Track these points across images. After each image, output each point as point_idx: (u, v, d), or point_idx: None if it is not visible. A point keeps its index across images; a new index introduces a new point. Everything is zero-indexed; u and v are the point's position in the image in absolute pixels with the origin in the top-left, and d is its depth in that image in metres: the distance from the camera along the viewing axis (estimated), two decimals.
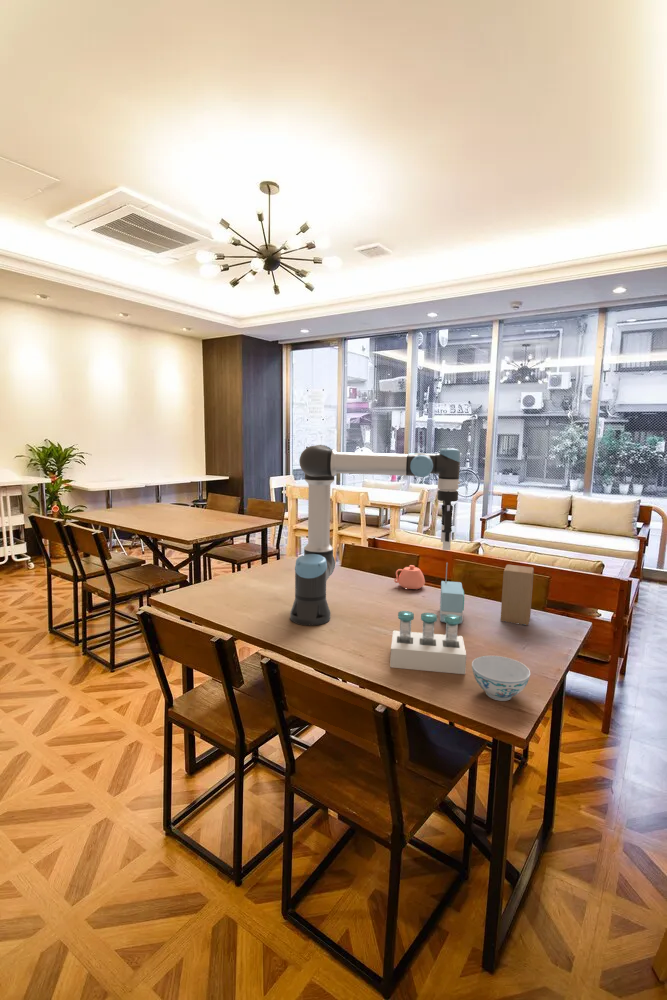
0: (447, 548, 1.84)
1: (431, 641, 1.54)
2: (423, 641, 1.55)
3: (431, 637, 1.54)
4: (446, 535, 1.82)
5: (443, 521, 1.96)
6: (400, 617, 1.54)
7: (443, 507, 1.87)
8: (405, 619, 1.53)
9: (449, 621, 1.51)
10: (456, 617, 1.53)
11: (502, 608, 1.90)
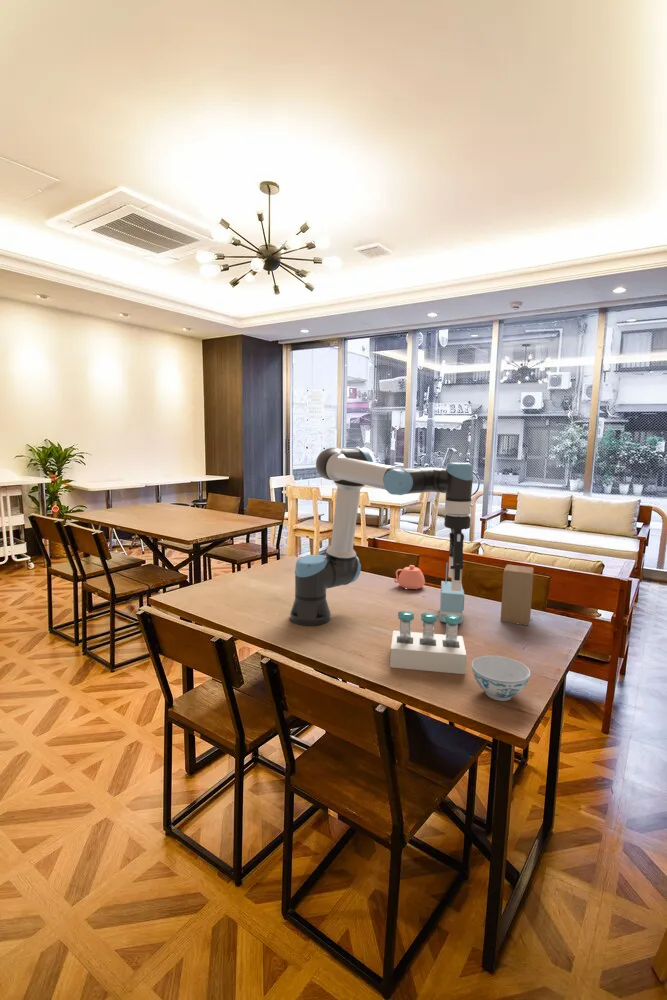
0: (457, 588, 1.45)
1: (431, 641, 1.54)
2: (423, 641, 1.55)
3: (431, 637, 1.54)
4: (456, 572, 1.44)
5: (451, 552, 1.57)
6: (400, 617, 1.54)
7: (452, 536, 1.49)
8: (405, 619, 1.53)
9: (449, 621, 1.51)
10: (456, 617, 1.53)
11: (502, 608, 1.90)
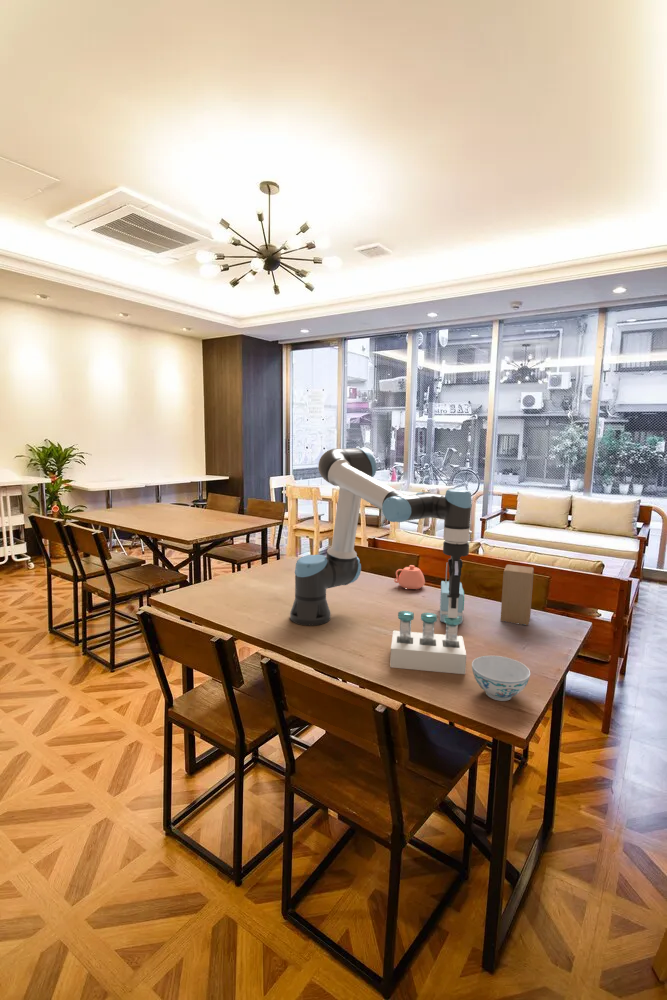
0: (454, 616, 1.52)
1: (431, 641, 1.54)
2: (423, 641, 1.55)
3: (431, 637, 1.54)
4: (452, 601, 1.51)
5: None
6: (400, 617, 1.54)
7: (450, 564, 1.50)
8: (405, 619, 1.53)
9: (449, 622, 1.51)
10: (456, 618, 1.53)
11: (502, 608, 1.90)
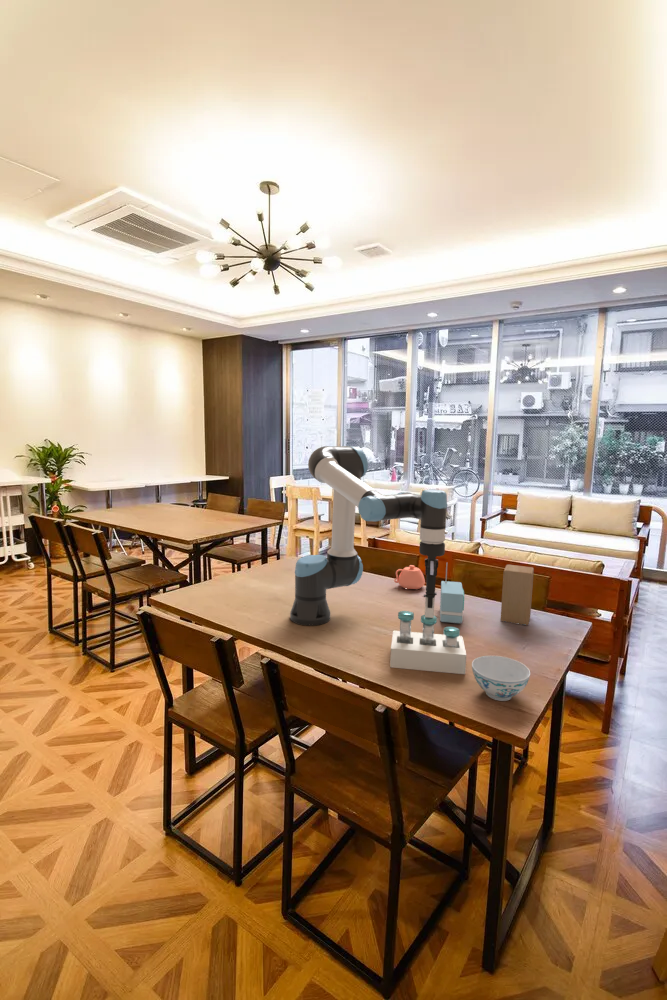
0: (430, 615, 1.54)
1: (431, 643, 1.54)
2: (423, 643, 1.55)
3: (431, 639, 1.54)
4: (429, 600, 1.52)
5: None
6: (400, 617, 1.54)
7: (426, 564, 1.51)
8: (405, 619, 1.53)
9: (448, 634, 1.52)
10: (455, 630, 1.53)
11: (502, 608, 1.90)
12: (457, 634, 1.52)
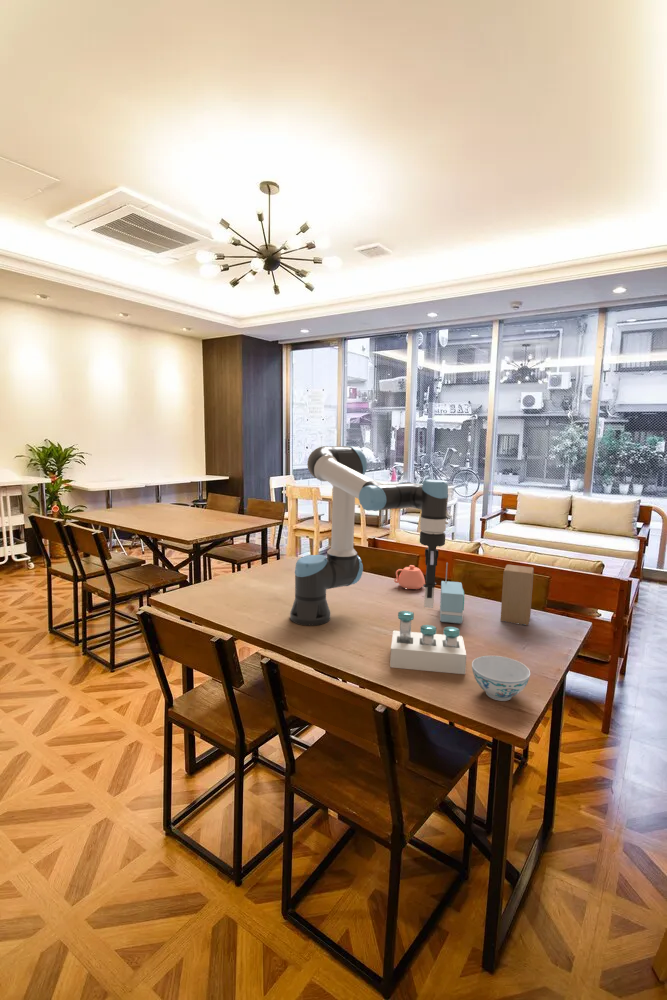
0: (430, 605, 1.54)
1: None
2: None
3: None
4: (428, 590, 1.52)
5: None
6: (400, 617, 1.54)
7: (426, 554, 1.50)
8: (405, 619, 1.53)
9: (448, 634, 1.52)
10: (455, 630, 1.53)
11: (502, 608, 1.90)
12: (457, 634, 1.52)
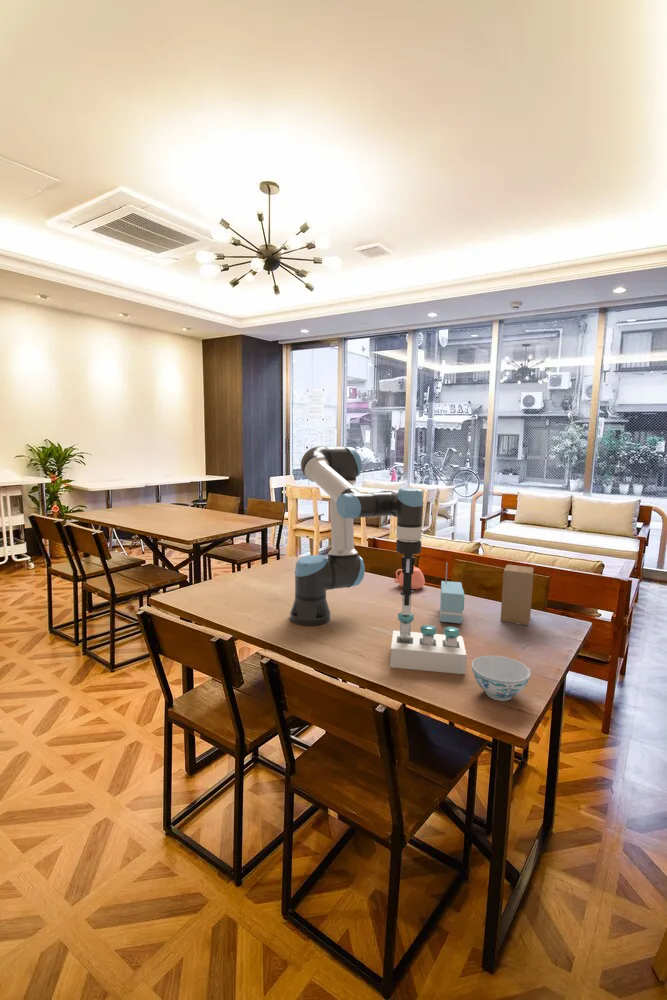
0: (407, 613, 1.55)
1: None
2: None
3: None
4: (405, 598, 1.53)
5: None
6: (400, 618, 1.54)
7: (403, 562, 1.52)
8: (405, 620, 1.54)
9: (448, 634, 1.52)
10: (455, 630, 1.53)
11: (502, 608, 1.90)
12: (457, 634, 1.52)
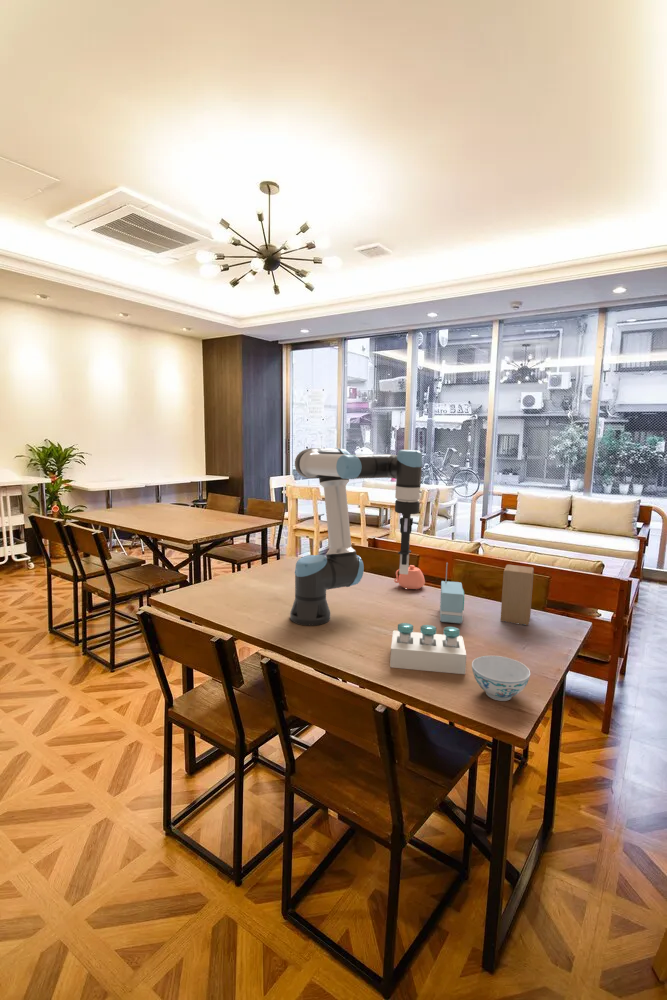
0: (404, 572, 1.59)
1: None
2: None
3: None
4: (403, 557, 1.57)
5: None
6: (400, 629, 1.55)
7: (401, 522, 1.55)
8: (405, 631, 1.54)
9: (448, 634, 1.52)
10: (455, 630, 1.53)
11: (502, 608, 1.90)
12: (457, 634, 1.52)
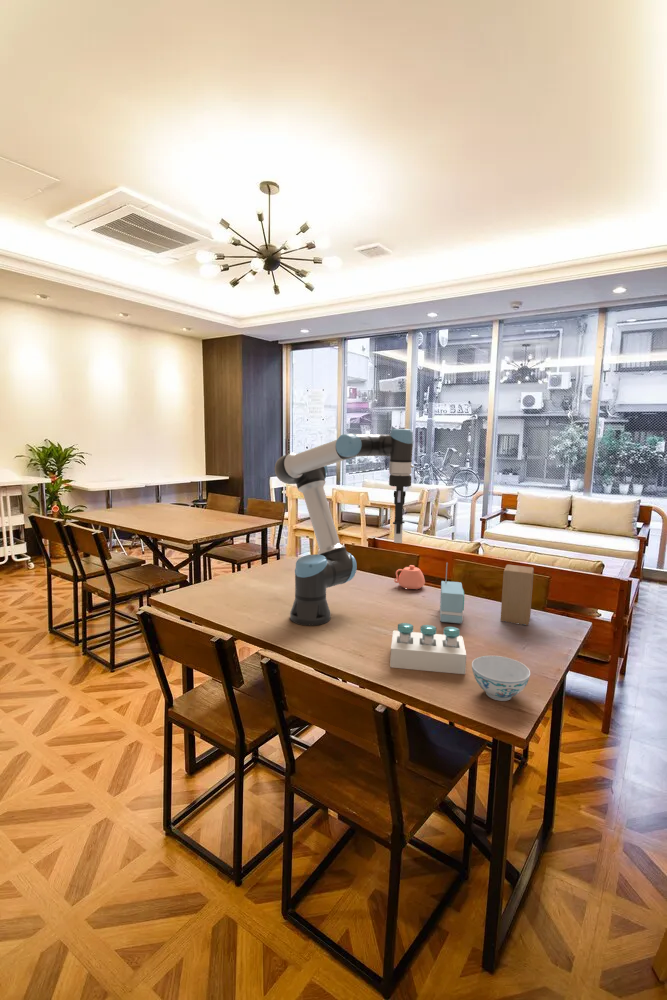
0: (399, 541, 1.74)
1: None
2: None
3: None
4: (397, 527, 1.72)
5: None
6: (400, 629, 1.55)
7: (395, 494, 1.71)
8: (405, 631, 1.54)
9: (448, 634, 1.52)
10: (455, 630, 1.53)
11: (502, 608, 1.90)
12: (457, 634, 1.52)
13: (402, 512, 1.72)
